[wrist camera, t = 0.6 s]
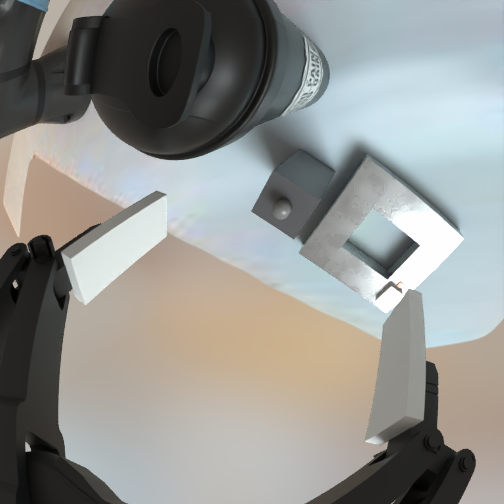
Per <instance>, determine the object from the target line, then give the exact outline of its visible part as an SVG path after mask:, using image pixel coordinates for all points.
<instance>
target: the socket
mask: <svg viewBox="0 0 504 504" xmlns="http://www.w3.org/2000/svg"><path fill="white" fill-rule="evenodd" d="M372 208H374V209H375V210H377V211H378V212H379V213H381V214H382V215H383V216H384V217H386V218H387V219H388V220H390V221H391V222H392V223H393V224H395V225H396V226H397V227H399V228H400V229H401V230H402V231H404V232H405V233H406V234H407V235H408V236H410V237H411V238H412V239H413V240H415V242H414V243H413V244H412V245H411V246H410V247H409V248H408V249H407V250H406V252H405V253H404V254H403V255H402V256H401V257H400V258H399V259H398V260H397V261H396V262H395V263H394V264H393V265H392V266H391V267H390V268H389V269H388V270H386V269H385V268H384V267H382V266H381V265H380V264H378V263H377V262H376V261H374V260H373V259H371V258H370V257H369V256H367V255H366V254H365V253H363V252H362V251H360V250H359V249H358V248H356V247H355V246H354V245H352V244H351V243H349V242H348V241H347V239H348V238H349V237H350V236H351V235H352V233H353V232H354V231H355V230H356V228H357V227H358V226H359V225H360V223H361V222H362V221H363V220H364V218H365V217H366V216H367V215H368V213H369V212H370V211H371V210H372ZM462 240H463V237H462V235H461V232H460V231H459V230H458V229H457V228H456V227H455V226H454V225H453V224H452V223H451V222H450V221H449V220H448V219H447V218H446V217H445V216H444V215H443V214H442V213H440V212H439V211H438V210H437V209H436V208H435V207H434V206H433V205H432V204H430V203H429V202H428V201H427V200H426V199H425V198H424V197H422V196H421V195H420V194H419V193H418V192H416V191H415V190H414V189H413V188H412V187H410V186H409V185H408V184H407V183H405V182H404V181H403V180H402V179H400V178H399V177H398V176H397V175H395V174H394V173H393V172H391V171H390V170H389V169H387V168H386V167H385V166H383V165H382V164H381V163H379V162H378V161H377V160H375V159H374V158H373V157H371V156H370V155H368V154H367V155H366V156H365V158H364V159H363V161H362V162H361V164H360V165H359V166H358V168H357V169H356V171H355V172H354V174H353V175H352V177H351V178H350V179H349V181H348V182H347V184H346V185H345V187H344V188H343V190H342V191H341V192H340V194H339V195H338V197H337V198H336V199H335V201H334V202H333V204H332V205H331V207H330V208H329V209H328V211H327V212H326V214H325V215H324V216H323V218H322V219H321V221H320V222H319V223H318V225H317V226H316V227H315V229H314V230H313V232H312V233H311V234H310V236H309V237H308V238H307V240H306V241H305V242H304V244H303V245H302V247H301V249H300V251H299V254H301V255H302V256H304V257H305V258H307V259H308V260H310V261H311V262H313V263H314V264H316V265H317V266H319V267H320V268H322V269H323V270H325V271H326V272H328V273H329V274H330V275H332V276H333V277H335V278H336V279H338V280H339V281H341V282H342V283H344V284H345V285H347V286H348V287H349V288H351V289H352V290H354V291H355V292H357V293H358V294H360V295H361V296H362V297H364V298H365V299H367V300H368V301H370V302H371V303H372V304H374V305H375V306H377V307H378V308H379V309H381V310H382V311H384V312H385V313H387V312H388V311H389V310H390V309H392V308H393V307H394V306H395V305H396V304H397V303H399V302H400V300H401V299H402V297H403V296H404V294H405V293H406V291H407V290H408V288H410V289H414V288H415V287H416V286H418V285H419V284H420V283H421V282H422V281H423V280H424V279H425V278H426V277H427V276H428V275H429V274H430V273H431V272H432V271H433V270H434V269H435V268H436V267H437V266H438V265H439V264H440V263H441V262H442V261H443V260H444V259H445V258H446V257H447V256H448V255H449V254H450V253H451V252H452V251H453V250H454V249H455V248H456V247H457V246H458V245H459V244H460V242H461V241H462Z"/></svg>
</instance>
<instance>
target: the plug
mask: <svg viewBox="0 0 504 504" xmlns="http://www.w3.org/2000/svg"><path fill="white" fill-rule="evenodd" d="M334 173H335V171H334V170H332V169H331V168H329V167H328V166H326V165H325V164H323V163H322V162H320V161H318V160H317V159H315V158H314V157H312V156H311V155H309V154H307V153H306V152H304V151H303V150H301V149H300V150H298V151H297V152H296V153H294V154H293V155H292V156H291V157H289V158H288V159H287V160H286V161H284V162H283V163H282V164H281V165H279V166H278V167H277V168H276V169H274V170H273V172H272V174H271V176H270V177H269V179H268V181H267V183H266V185H265V187H264V189H263V190H262V192H261V194H260V196H259V198H258V200H257V202H256V203H255V205H254V207H253V209H252V211H251V212H253V213H255V214H256V215H258V216H259V217H261V218H262V219H264V220H265V221H267V222H268V223H270V224H271V225H273V226H274V227H276V228H278V229H279V230H281V231H282V232H284V233H285V234H287V235H288V236H290V237H291V238H293V239H295V237H296V236H297V235H298V233H299V232H300V230H301V229H302V227H303V226H304V224H305V223H306V222H307V220H308V219H309V217H310V216H311V214H312V213H313V211H314V210H315V208H316V207H317V206H318V204H319V203H320V201H321V199H322V197H323V195H324V193H325V191H326V189H327V187H328V185H329V183H330V181H331V179H332V177H333V175H334Z"/></svg>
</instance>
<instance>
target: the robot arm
mask: <svg viewBox="0 0 504 504" xmlns="http://www.w3.org/2000/svg"><path fill="white" fill-rule="evenodd" d="M49 1H50V0H0V139H1V138H3V137H5V136H8V135H10V134H13V133H15V132H17V131H20V130H22V129H25V128H27V127H30V126H33V125H35V124H39V123H47V124H67V123H70V122H73V121H76V120H78V119H80V118H81V117H82V116H83V115H84V113H85V112H86V110H87V108H88V106H89V104H90V101H91V95H90V94H89V95H79V96H67V95H64V84H63V79H64V69H65V60H66V53H67V46H68V45H67V46H63V47H61V48H59V49H57V50H55V51H53V52H51V53H49V54H47V55H45V56H43V57H41V58H39V59H36V60H32V58H33V53H34V49H35V45H36V41H37V38H38V34H39V31H40V28H41V25H42V22H43V19H44V16H45V14H46V12H47V11H48V4H49ZM166 236H167V194H164V193H161V192H159V191H155V192H153V193H152V194H150V195H148V196H146V197H145V198H143V199H141V200H140V201H138V202H136V203H134V204H133V205H131V206H129V207H128V208H126V209H125V210H123V211H121V212H120V213H118V214H117V215H115V216H113V217H112V218H110V219H109V220H107V221H106V222H104V223H102V224H101V223H100V224H97V225H95V226H92V227H90V228H89V229H87V230H86V231H84V232H83V233H81V234H79V235H78V236H77V237H75V238H74V239H72V240H71V241H69V242H68V243H66V244H65V245H64V246H62V247H61V248H59V249H58V250H57V251H55V250H54V246H53V242H52V239H51V237H49V236H48V235H40V236H37V237H35V238H33V239H32V240H31V241H30V242H29V243H28V244H27V245H28V248H29V251H30V253H29V252H28V249H27V246H26V245H25V244H24V243H16V244H14V245H13V246H11V247H10V248H9V249H8V250H7V251H6V252H5V254H4V255H3V257H2V258H1V259H0V504H127V503H125V502H123V501H121V500H120V499H119V498H118V497H117V496H116V494H115V493H114V492H113V491H112V490H111V489H110V488H109V487H108V486H107V485H106V484H105V482H103V481H102V480H101V479H99V478H98V477H97V476H95V475H94V474H93V473H92V472H90V471H89V470H88V469H87V468H85V467H83V466H80V465H78V464H76V463H74V462H72V461H70V460H68V459H66V458H65V446H64V440H63V436H62V434H61V432H60V430H59V425H58V394H59V375H60V362H61V352H62V343H63V335H64V328H65V322H66V315H67V309H68V304H69V299H70V298H69V297H70V295H69V291H71V289H73V292H74V294H75V297H76V298H77V299H78V300H79V301H81V302H82V303H83V304H85V305H86V304H87V303H88V302H89V301H91V299H93V298H94V297H95V296H96V295H97V294H98V293H100V292H101V291H102V290H103V289H104V288H105V287H106V286H107V285H108V284H110V283H111V282H112V281H113V280H114V279H115V278H117V277H118V276H119V275H120V274H121V273H122V272H124V271H125V270H126V269H127V268H128V267H130V266H131V265H132V264H133V263H134V262H135V261H137V260H138V259H139V258H140V257H142V256H143V255H144V254H145V253H146V252H147V251H149V250H150V249H151V248H152V247H154V246H155V245H156V244H157V243H159V242H160V241H161V240H162V239H164V238H165V237H166ZM14 280H16V282H17V284H18V286H17V287H16V288H14V286H13V284H12V283H13V282H14ZM425 352H426V351H425V327H424V313H423V302H422V293H420V292H418V291H415V290H413V289H410V288H408V290H407V291H406V293H405V294H404V296H403V297H402V299H401V300H400V302H399V303H398V305H397V306H396V308H395V309H394V310H393V312H392V313H391V315H390V316H389V318H388V319H387V320H386V322H385V323H384V325H383V332H382V342H381V351H380V359H379V367H378V374H377V381H376V387H375V393H374V398H373V404H372V409H371V414H370V419H369V424H368V428H367V433H366V437H365V442H369V443H373V444H376V445H382V444H384V443H386V442H388V441H389V442H388V447H387V449H386V450H384V451H382V452H380V453H378V454H376V455H374V459H373V460H371V461H370V462H369V463H367V464H366V465H365V466H363V467H362V468H361V469H359V470H358V471H357V472H355V473H354V474H352V475H351V476H349V477H348V478H347V479H345V480H344V481H342V482H341V483H339V484H337V485H336V486H334V487H333V488H331V489H330V490H328V491H327V492H325V493H323V494H321V495H320V496H318V497H316V498H315V499H313V500H311V501H309V502H307V503H306V504H391V503H392V502H394V500H395V502H394V503H393V504H458V503H459V501H460V499H461V497H462V495H463V493H464V491H465V489H466V487H467V485H468V483H469V481H470V479H471V477H472V474H473V472H474V469H475V466H476V460H475V456H474V454H473V453H472V451H471V450H469V449H462V450H460V451H458V452H455V451H454V450H452V449H451V448H449V447H448V446H446V445H445V444H444V440H443V436H442V434H441V432H440V431H439V430H438V429H437V416H438V415H437V414H438V396H437V395H438V373H437V370H436V367H435V364H434V363H431V362H428V361H426V353H425ZM25 442H27V443H28V444H29V445H30V448H31V451H30V452H25Z"/></svg>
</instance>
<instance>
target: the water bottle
mask: <svg viewBox="0 0 504 504" xmlns="http://www.w3.org/2000/svg"><path fill="white" fill-rule="evenodd" d="M329 76H330V72H329V66H328V62H327V60H326V58H325V56H324V55H323V53H322V52H321V51H320V50H319V48H318V47H317V46H316V45H315V44H314V43H313V42H312V41H311V40H310V39H309V38H308V37H307V36H306V35H305V34H304V33H303V32H302V31H301V30H300V29H298V28H297V27H296V26H295V25H294V24H293V23H292V22H291V21H290V20H289V19H288V18H287V17H285V16H284V15H283V14H282V13H281V12H280V10H279V9H278V7H277V5H276V4H275V2H274V1H273V0H114V1H113V2H112V3H111V5H110V6H109V7H108V9H107V10H106V11H105V13H104V14H103V16H90V17H81V18H76V19H74V20H73V25H72V30H71V31H70V34H69V40H68V46H67V53H66V60H65V69H64V79H63V84H64V95H67V96H79V95H89V94H90V95H91V98H92V101H93V104H94V106H95V109H96V111H97V113H98V114H99V116H100V118H101V119H102V121H103V122H104V124H105V125H106V126H107V127H108V128H109V129H110V131H111V132H112V133H113V134H115V135H116V136H117V137H118V138H119V139H121V140H122V141H123V142H125V143H127V144H128V145H130V146H132V147H134V148H135V149H137V150H139V151H141V152H142V153H144V154H147V155H149V156H152V157H155V158H159V159H165V160H185V159H191V158H196V157H199V156H203V155H205V154H208V153H210V152H213V151H215V150H217V149H219V148H222V147H224V146H226V145H229V144H231V143H233V142H234V141H236V140H238V139H239V138H241V137H242V136H244V135H245V134H246V133H248V132H249V131H250V130H251V129H252V128H253V127H255V126H257V125H259V124H262V123H264V122H267V121H269V120H272V119H275V118H277V117H278V118H279V117H280V116H283V115H287V114H289V113H291V112H294V111H297V110H300V109H302V108H305V107H308V106H310V105H312V104H313V103H315V102H316V101H317V100H319V99H320V97H321V96H322V95H323V94H324V92H325V90H326V88H327V86H328V83H329Z"/></svg>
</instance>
